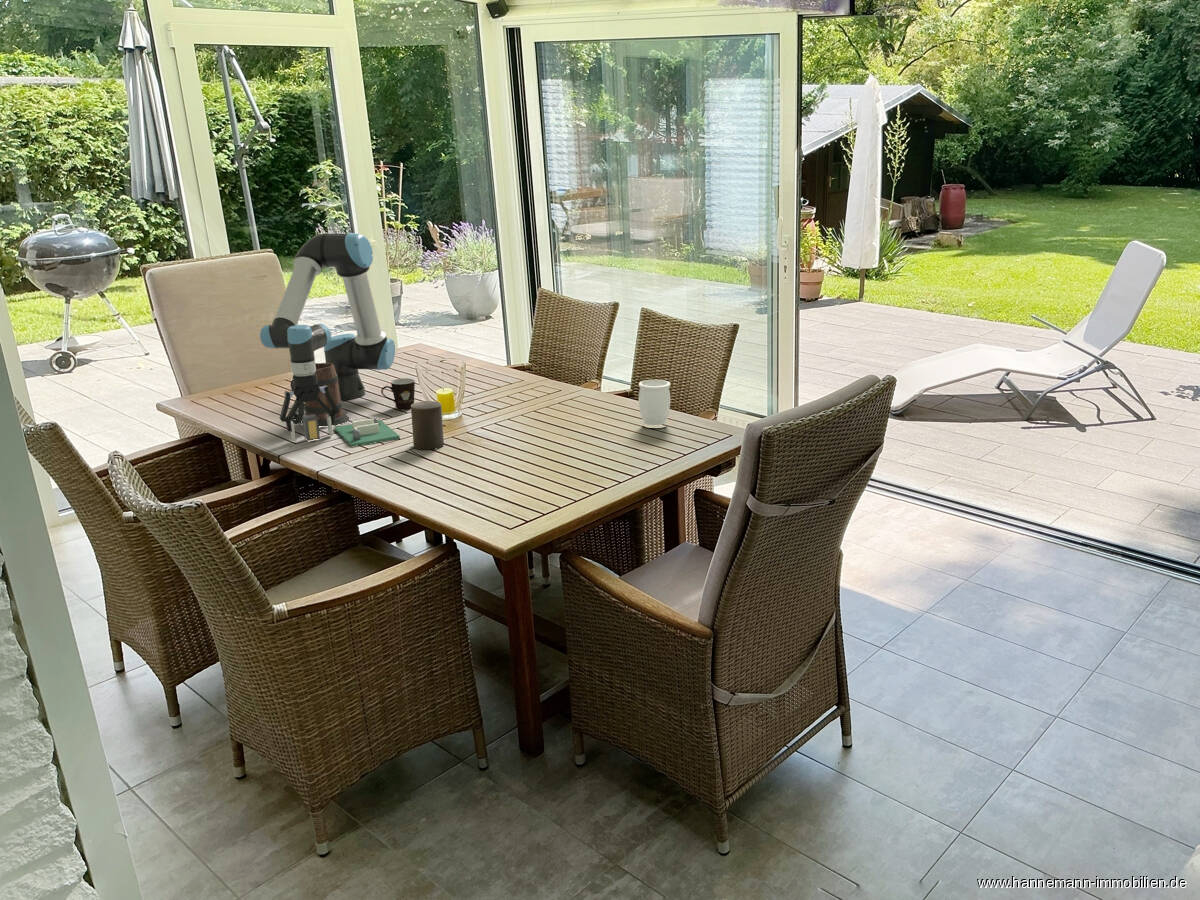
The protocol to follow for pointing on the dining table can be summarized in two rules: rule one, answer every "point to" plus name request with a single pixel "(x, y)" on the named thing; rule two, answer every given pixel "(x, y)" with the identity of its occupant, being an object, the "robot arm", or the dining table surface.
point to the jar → (654, 401)
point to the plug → (311, 427)
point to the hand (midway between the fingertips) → (312, 437)
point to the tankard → (323, 397)
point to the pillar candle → (427, 425)
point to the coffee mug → (402, 392)
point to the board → (366, 432)
